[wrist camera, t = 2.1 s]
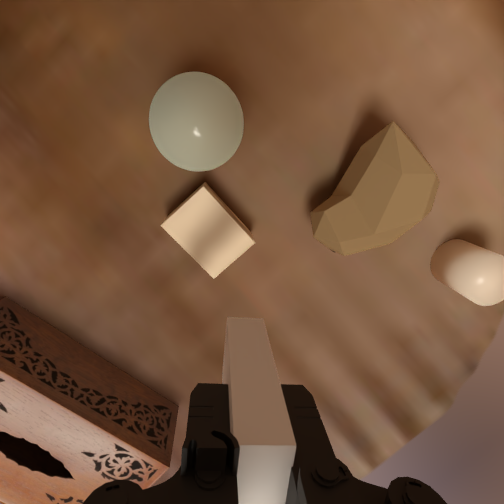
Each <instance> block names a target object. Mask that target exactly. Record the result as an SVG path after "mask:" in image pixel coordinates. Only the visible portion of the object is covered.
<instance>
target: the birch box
mask: <svg viewBox="0 0 504 504" xmlns="http://www.w3.org/2000/svg"><path fill="white" fill-rule="evenodd" d="M161 227H162V228H163V229H164V230H165V231H166V232H167V233H168V234H169V235H170V236H171V237H172V238H174V239H175V240H176V241H177V242H178V243H179V244H180V245H181V246H182V247H183V248H184V249H185V250H186V251H187V252H188V253H189V254H190V255H191V256H192V257H193V258H194V259H195V260H196V261H197V262H198V263H199V264H200V265H201V266H202V267H203V268H204V269H205V270H206V271H207V272H208V273H209V274H210V275H211V276H212V277H213V278H215V277H216V276H218V275H219V274H220V273H221V272H222V271H223V270H224V269H226V268H227V267H228V266H229V265H230V264H231V263H233V262H234V261H235V260H236V259H237V258H238V257H239V256H241V255H242V254H243V253H244V252H245V251H246V250H247V249H249V248H250V247H251V246H252V245H253V244H254V243H255V241H254V238H253V236H252V233H251V231H250V230H249V229H248V228H247V227H246V226H245V225H244V224H243V223H242V222H241V221H240V219H239V218H238V217H237V216H236V215H235V214H234V213H233V212H232V211H231V210H230V208H229V207H228V206H227V205H226V204H225V203H224V202H223V201H222V200H221V199H220V198H219V196H218V195H217V194H216V193H215V192H214V191H213V190H212V189H211V188H210V187H209V185H208V184H207V183H206V182H204V183H203V184H202V185H201V186H200V187H199V188H198V189H197V190H195V191H194V192H193V193H192V194H191V195H190V196H189V197H188V198H187V199H186V200H185V201H183V202H182V203H181V204H180V205H179V206H178V207H177V208H176V209H175V210H174V211H173V212H172V213H170V214H169V215H168V216H167V217H166V219H165V220H164V222H163V223H162V224H161Z"/></svg>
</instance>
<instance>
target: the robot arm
mask: <svg viewBox="0 0 504 504" xmlns="http://www.w3.org/2000/svg"><path fill="white" fill-rule="evenodd" d="M222 383H223V384H207V383H198V384H197V386H196V387H195V388H194V390H193V391H192V392H191V395H190V404H189V414H188V423H187V432H186V439H185V441H184V444H183V447H182V459H181V466H180V468H179V470H178V471H177V472H176V473H175V474H174V476H173V477H171V478H170V479H168V480H167V481H165V482H163V483H161V484H159V485H156V486H153V487H150V488H147V489H142V488H141V487H140V486H139V484H137V483H135V482H132V481H130V480H114V481H111V482H107V483H105V484H103V485H101V486H100V487H98V488H97V489H95V490H94V491H93V492H92V493H91V494H90V495H89V496H88V497H87V499H86V500H85V501H84V502H83V504H447V503H446V502H445V501H444V500H443V499H442V497H441V496H440V495H439V494H438V493H436V492H435V491H434V490H433V489H432V488H431V487H430V486H428V485H427V484H425V483H423V482H421V481H420V480H417V479H413V478H410V477H398V478H396V479H395V480H393V481H391V483H390V485H389V487H388V489H386V488H383V487H379V486H376V485H372V484H369V483H366V482H363V481H361V480H358V479H357V478H355V477H353V476H352V474H351V472H350V471H349V469H348V467H347V466H346V465H345V464H343V463H342V462H341V461H340V460H339V459H337V458H336V457H335V454H334V452H333V449H332V446H331V444H330V441H329V438H328V436H327V433H326V430H325V428H324V425H323V422H322V420H321V419H320V414H319V412H318V409H317V407H316V404H315V401H314V399H313V396H312V394H311V393H310V392H309V391H308V390H307V389H306V388H305V387H304V386H303V385H286V384H280V380H279V377H278V373H277V369H276V365H275V361H274V357H273V354H272V350H271V346H270V342H269V338H268V334H267V331H266V327H265V323H264V319H261V318H240V317H227V326H226V338H225V349H224V361H223V372H222Z"/></svg>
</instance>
